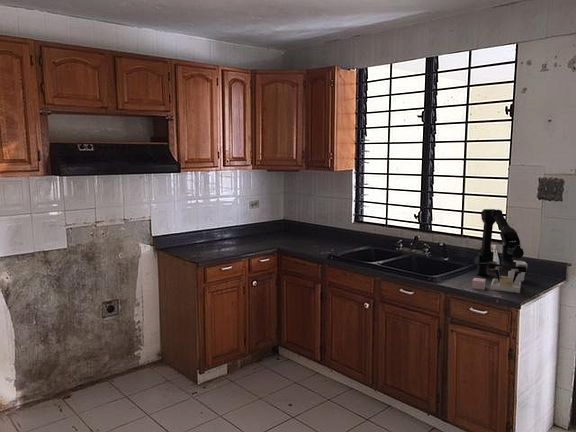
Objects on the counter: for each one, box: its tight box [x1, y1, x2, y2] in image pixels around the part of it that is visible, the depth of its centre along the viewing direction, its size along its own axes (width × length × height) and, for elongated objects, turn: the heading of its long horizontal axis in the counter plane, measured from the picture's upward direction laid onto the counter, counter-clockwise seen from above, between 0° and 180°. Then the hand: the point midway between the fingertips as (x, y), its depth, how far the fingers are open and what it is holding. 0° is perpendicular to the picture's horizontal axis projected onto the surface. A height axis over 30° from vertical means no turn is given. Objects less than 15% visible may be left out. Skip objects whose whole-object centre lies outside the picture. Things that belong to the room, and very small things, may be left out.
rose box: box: [471, 277, 487, 291], centre depth 257 cm, size 6×6×4 cm
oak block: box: [499, 275, 513, 287], centre depth 256 cm, size 6×6×5 cm
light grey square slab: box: [490, 278, 522, 294], centre depth 256 cm, size 14×14×2 cm
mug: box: [507, 259, 528, 283], centre depth 272 cm, size 11×9×10 cm
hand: (506, 282), depth 256 cm, fingers open, 7 cm apart
